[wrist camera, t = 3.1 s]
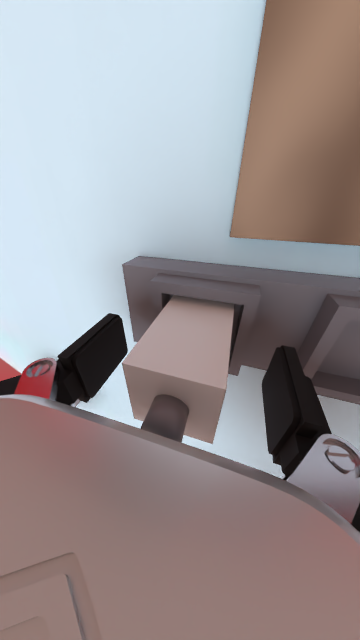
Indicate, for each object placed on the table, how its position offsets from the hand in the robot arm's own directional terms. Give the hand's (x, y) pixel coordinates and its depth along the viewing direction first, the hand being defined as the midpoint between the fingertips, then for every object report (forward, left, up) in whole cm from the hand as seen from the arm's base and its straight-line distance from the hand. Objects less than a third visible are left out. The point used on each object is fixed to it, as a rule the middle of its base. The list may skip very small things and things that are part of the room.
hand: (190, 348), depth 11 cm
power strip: (-5, 0, -6) cm, 8 cm away
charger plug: (0, 0, -3) cm, 3 cm away
